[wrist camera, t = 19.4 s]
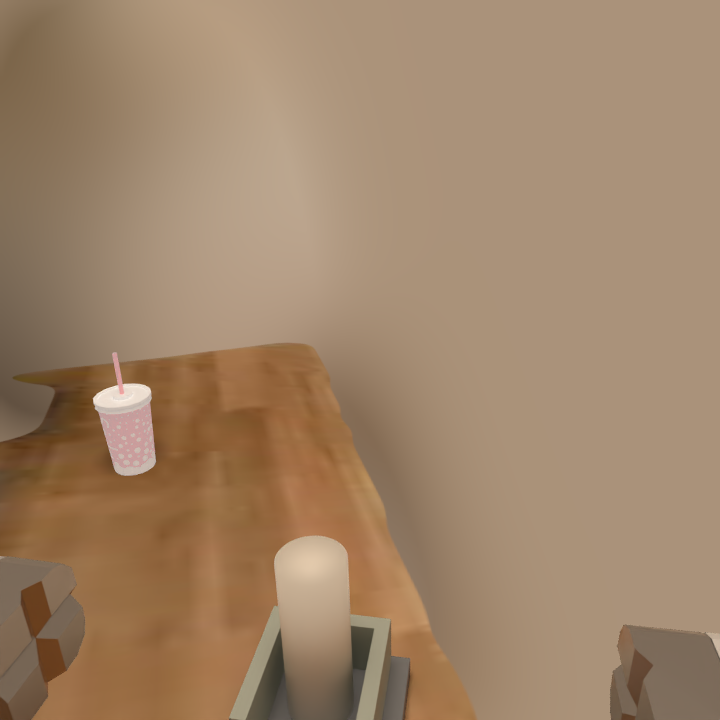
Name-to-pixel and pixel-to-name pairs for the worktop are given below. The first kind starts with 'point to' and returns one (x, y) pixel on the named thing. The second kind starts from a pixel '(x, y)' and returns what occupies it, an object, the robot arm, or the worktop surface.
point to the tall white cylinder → (315, 628)
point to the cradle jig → (370, 675)
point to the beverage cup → (127, 425)
